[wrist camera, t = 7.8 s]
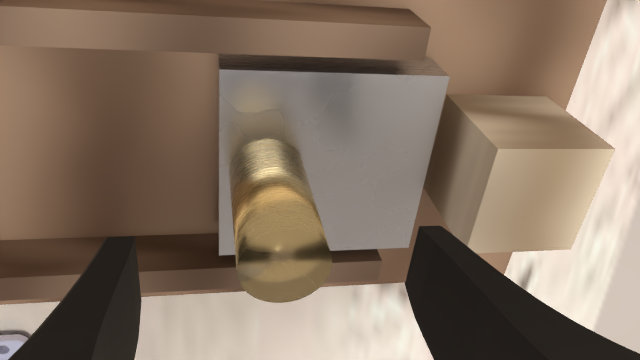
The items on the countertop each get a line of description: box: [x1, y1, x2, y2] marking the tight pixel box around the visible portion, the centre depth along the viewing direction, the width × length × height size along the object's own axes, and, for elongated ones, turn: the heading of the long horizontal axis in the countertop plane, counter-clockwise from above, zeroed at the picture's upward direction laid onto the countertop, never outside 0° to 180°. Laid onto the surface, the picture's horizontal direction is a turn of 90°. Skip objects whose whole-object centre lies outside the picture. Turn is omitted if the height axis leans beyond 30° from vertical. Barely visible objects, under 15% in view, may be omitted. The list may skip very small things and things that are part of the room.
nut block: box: [424, 94, 615, 253], centre depth 19 cm, size 4×4×4 cm
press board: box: [0, 0, 607, 305], centre depth 19 cm, size 22×14×4 cm, turn 84°
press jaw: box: [218, 53, 450, 303], centre depth 16 cm, size 7×7×6 cm
